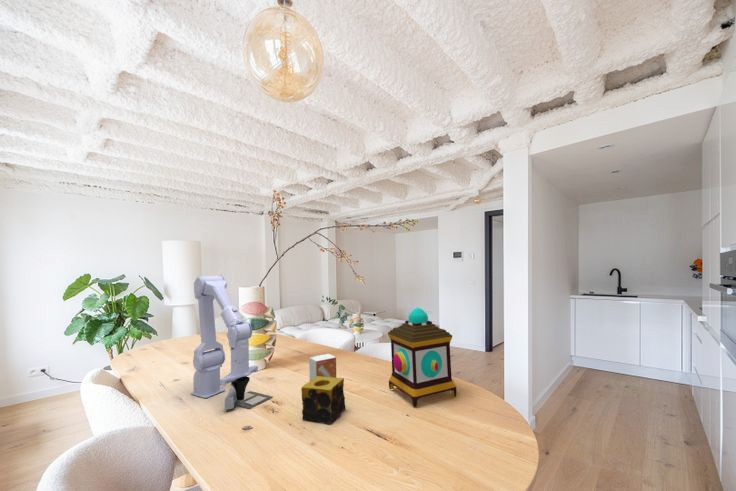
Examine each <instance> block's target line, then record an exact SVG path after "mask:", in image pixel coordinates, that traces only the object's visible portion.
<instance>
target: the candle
mask: <svg viewBox="0 0 736 491" xmlns="http://www.w3.org/2000/svg"><path fill="white" fill-rule="evenodd" d="M344 379H345V378H344V377H336V378H334V377H322V376H316V377H315V378H313V379H312V380H311V381H310V380H309V381H308V382H305V384H303V385H302V386H301V401H302V403H301V404H302V410H301V412H302V413H301V414H302V420H303V421H305V422H313V423H320V424H326V425H333V424H334V423H335V421H336V420H338V418H339V417H340V416H341V415H342V413H343V412H344V411H346V398H345V394H344V385H345V384H344V382H345V380H344Z"/></svg>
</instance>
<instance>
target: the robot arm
mask: <svg viewBox="0 0 736 491" xmlns="http://www.w3.org/2000/svg"><path fill="white" fill-rule="evenodd" d="M227 286H228V281H227V279H226V277H225V275H223V274H221V275H199V276H197V277H196V278H195V281H194V282H193V291H194V292H193V294H194V299H196V300H197V301H198V314H199V317H198V318H199V327H200V328H199V329H200V341H201V342H200V344H199V345H198V346H197V347H196V348H195V350H193V358H192V365H193V368H194V370H195V372H194V374H193V381H192V382H193V389H192V390H193V391H192V392H190V393H191V395H192V396H197V397H199V398H203V399H208V398H210V397H212V396H215V395H217V394H220V393H223V392H225V391H226V388H222V387H225V386H228V384H231V383H232V385H233V386H234V388H235V391H236V398H237V400H239V401H242V400H244V393H246V389H247V386H248V384H249V382H250V379H251V378H250V377H249V376H251V374H253V373H258V372H259V366H258V365H251V366H250V354H249V353H250V350H249V348H250V347H249V346H250V342H249V341H250V340H249V339H251V337H252V336H253V327H252V325H251V323H250V322H248V321H247V320H245V319H244V318H243V316H242V314H241V312H240V310H239V308H238V307H237V306H234V305H233V304H232V301H231V298H230V296H229V293H228V292H227ZM214 300H215V301H216V303H217V304H218V305H219V307H220V309H221V310H222V311H221V313H220V317H221V318H222V320H223V321H224V324H225V326H226V328H227V332H226V337H227V340H228V346H229V348H230V373H229V374H227V375H225V376H223V377H221V368H222V367H223V364H224V363H225V360H226V353H225V350H224V345H223V344H222V343H220V342H219V341H217V335H216V323H215V322H216V321H215V308H214ZM221 386H222V387H221Z"/></svg>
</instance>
